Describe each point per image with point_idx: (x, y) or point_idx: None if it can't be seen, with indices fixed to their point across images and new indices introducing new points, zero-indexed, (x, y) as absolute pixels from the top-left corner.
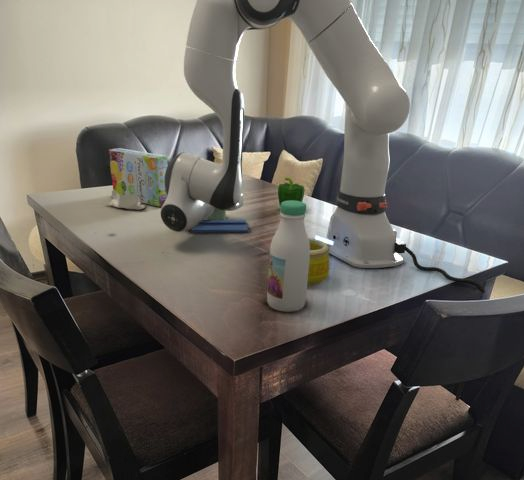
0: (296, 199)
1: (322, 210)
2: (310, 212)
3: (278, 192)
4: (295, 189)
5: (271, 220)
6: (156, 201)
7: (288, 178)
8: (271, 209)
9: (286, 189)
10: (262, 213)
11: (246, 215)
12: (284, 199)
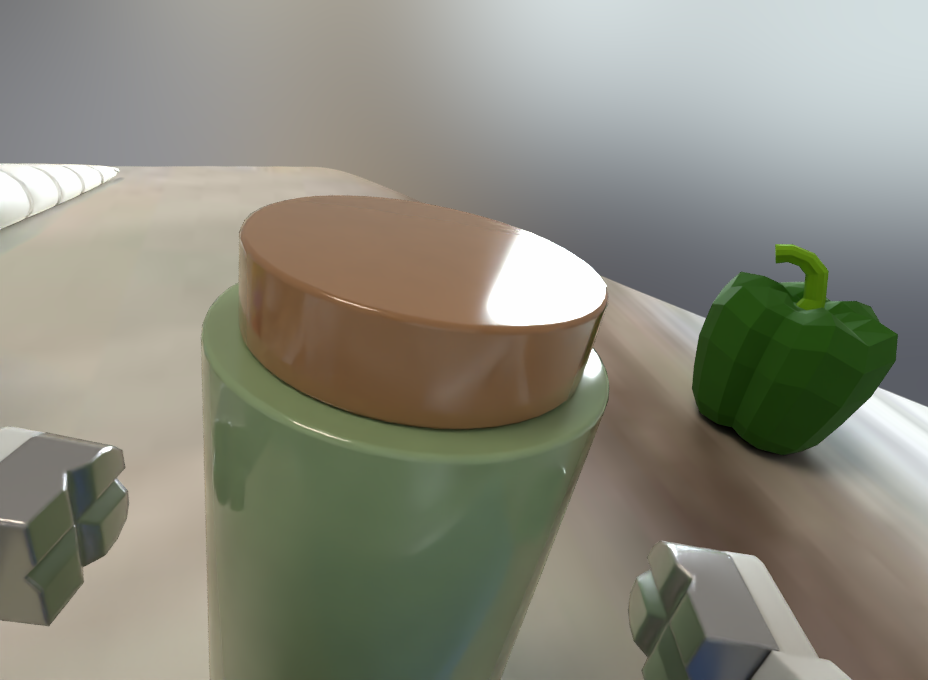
0: (866, 400)
1: (869, 417)
2: (862, 448)
3: (736, 339)
4: (892, 343)
5: (865, 664)
6: None
7: (809, 256)
8: (660, 428)
9: (841, 340)
10: (669, 503)
11: (597, 571)
12: (800, 399)
